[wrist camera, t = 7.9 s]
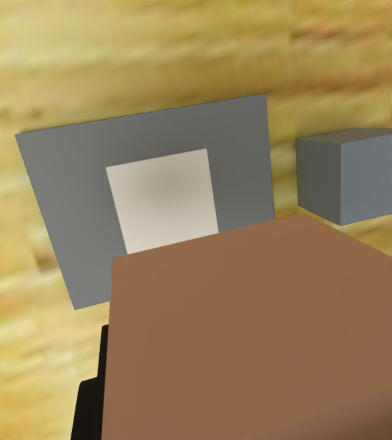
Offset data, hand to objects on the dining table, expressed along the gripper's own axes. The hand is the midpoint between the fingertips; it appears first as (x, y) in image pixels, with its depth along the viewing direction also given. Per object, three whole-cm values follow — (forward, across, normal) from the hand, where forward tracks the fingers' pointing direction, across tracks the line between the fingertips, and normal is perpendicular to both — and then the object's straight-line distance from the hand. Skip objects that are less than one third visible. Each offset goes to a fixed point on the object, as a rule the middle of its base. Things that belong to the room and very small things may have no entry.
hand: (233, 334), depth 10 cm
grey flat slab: (+17, 0, 0) cm, 17 cm away
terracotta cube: (+1, 0, 0) cm, 1 cm away
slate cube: (+17, -15, 0) cm, 23 cm away
